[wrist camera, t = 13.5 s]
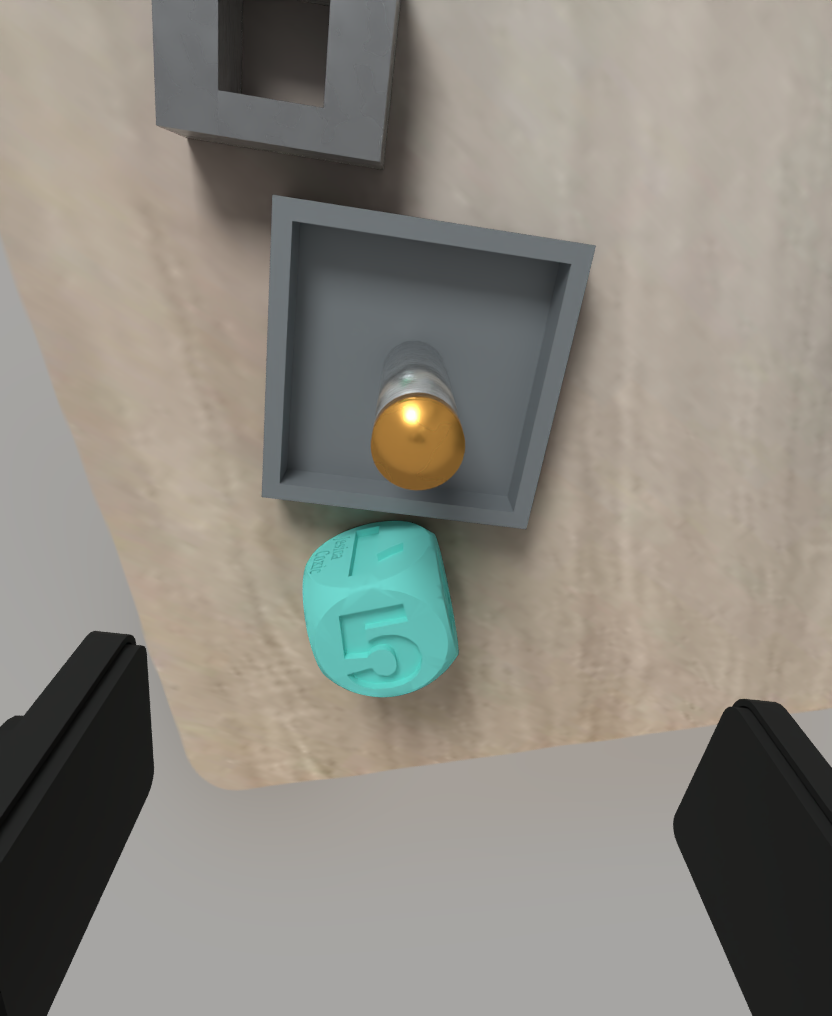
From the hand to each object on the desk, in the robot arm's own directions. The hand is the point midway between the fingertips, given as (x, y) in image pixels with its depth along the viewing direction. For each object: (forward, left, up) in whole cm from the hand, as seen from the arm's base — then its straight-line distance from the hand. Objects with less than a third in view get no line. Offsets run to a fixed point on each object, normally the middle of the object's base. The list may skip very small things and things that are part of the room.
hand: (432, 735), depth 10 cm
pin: (0, 0, -28) cm, 28 cm away
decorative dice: (0, +14, -28) cm, 32 cm away
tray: (0, 0, -28) cm, 28 cm away
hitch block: (+8, -14, -28) cm, 32 cm away
